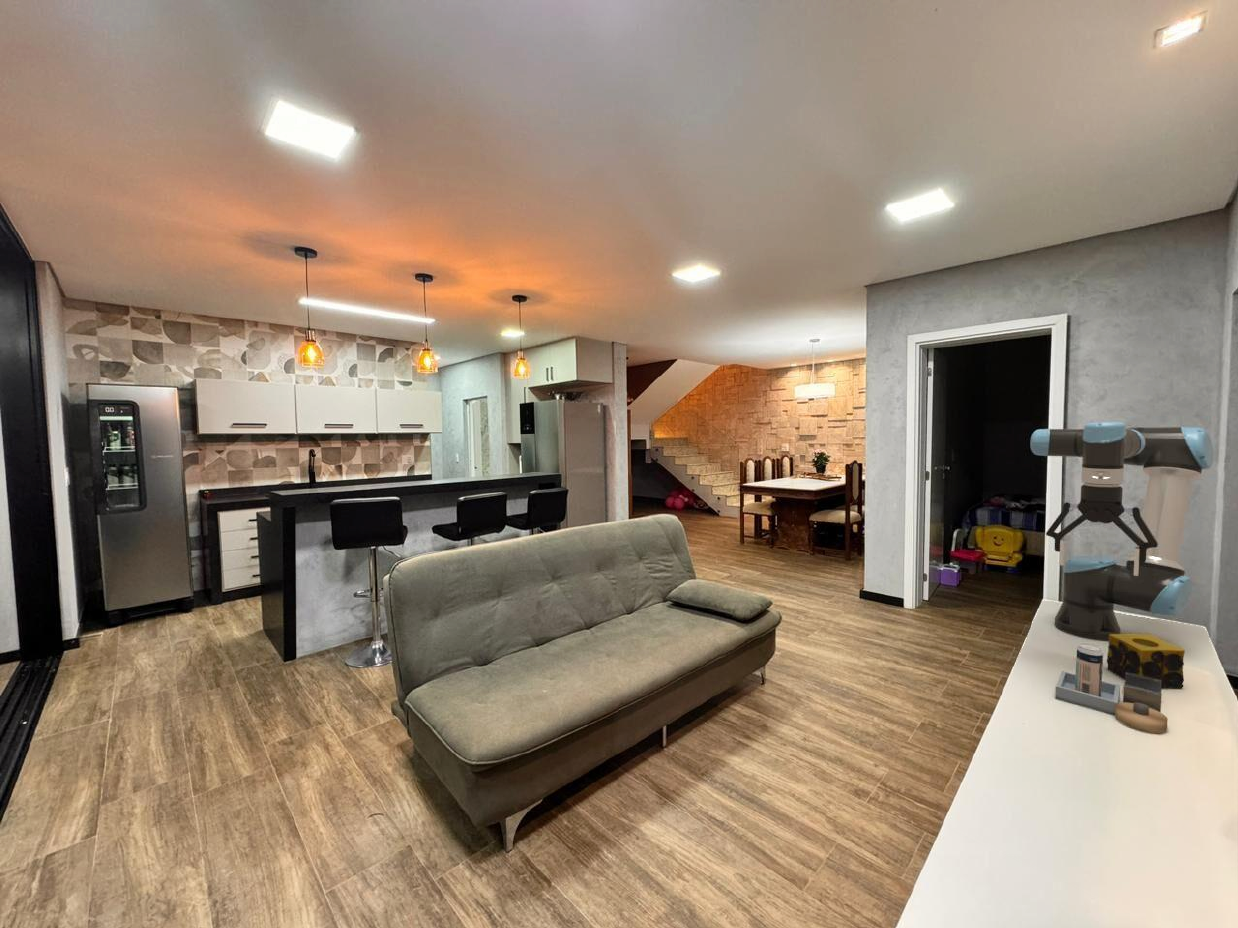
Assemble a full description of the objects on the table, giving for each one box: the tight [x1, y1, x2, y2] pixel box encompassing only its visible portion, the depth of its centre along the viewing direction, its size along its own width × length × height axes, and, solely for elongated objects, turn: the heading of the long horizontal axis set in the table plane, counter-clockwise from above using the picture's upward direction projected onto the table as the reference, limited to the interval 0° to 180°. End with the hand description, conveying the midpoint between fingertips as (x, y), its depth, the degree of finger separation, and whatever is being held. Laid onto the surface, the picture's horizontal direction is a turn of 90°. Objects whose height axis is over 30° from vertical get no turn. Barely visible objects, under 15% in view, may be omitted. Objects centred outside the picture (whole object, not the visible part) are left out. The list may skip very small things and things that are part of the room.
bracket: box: [1122, 672, 1162, 713], centre depth 120 cm, size 9×6×5 cm, turn 134°
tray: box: [1055, 670, 1121, 716], centre depth 123 cm, size 11×11×3 cm
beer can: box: [1075, 642, 1105, 697], centre depth 123 cm, size 5×5×12 cm
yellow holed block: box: [1106, 633, 1186, 690], centre depth 131 cm, size 10×10×10 cm
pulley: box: [1114, 701, 1168, 735], centre depth 113 cm, size 8×8×4 cm
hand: (1097, 569), depth 129 cm, fingers open, 13 cm apart
